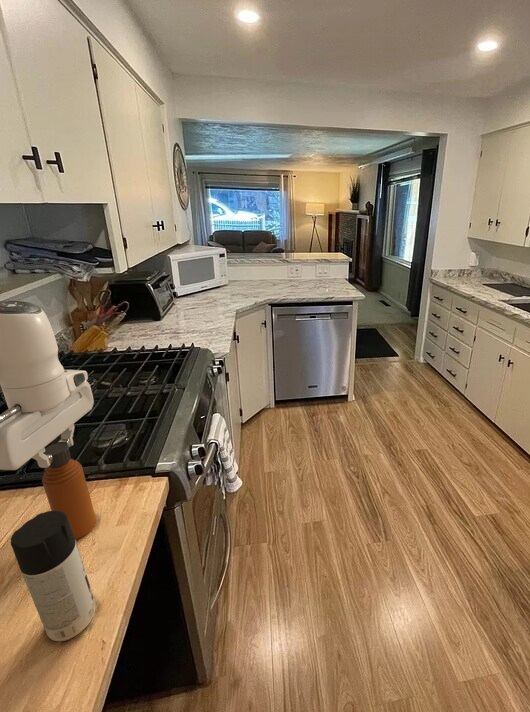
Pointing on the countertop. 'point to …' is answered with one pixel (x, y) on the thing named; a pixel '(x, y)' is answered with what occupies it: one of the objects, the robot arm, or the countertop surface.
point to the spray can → (54, 574)
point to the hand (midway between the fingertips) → (57, 455)
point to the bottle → (70, 496)
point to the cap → (58, 454)
